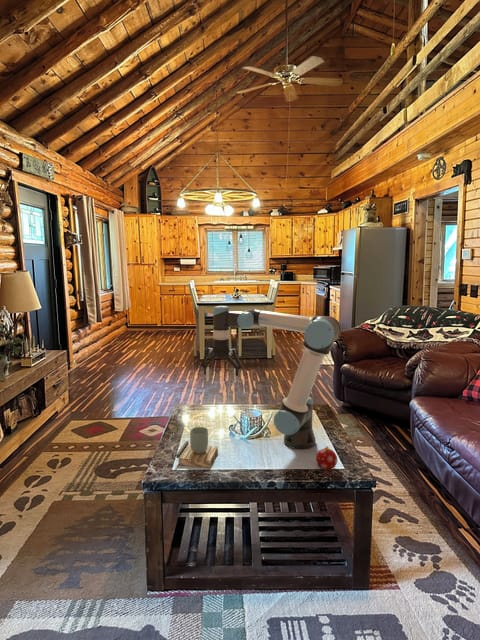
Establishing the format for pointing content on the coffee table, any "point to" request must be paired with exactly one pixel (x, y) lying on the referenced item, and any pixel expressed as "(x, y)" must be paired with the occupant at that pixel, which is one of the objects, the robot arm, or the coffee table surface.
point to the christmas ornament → (326, 459)
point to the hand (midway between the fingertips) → (221, 381)
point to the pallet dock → (196, 456)
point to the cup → (199, 440)
